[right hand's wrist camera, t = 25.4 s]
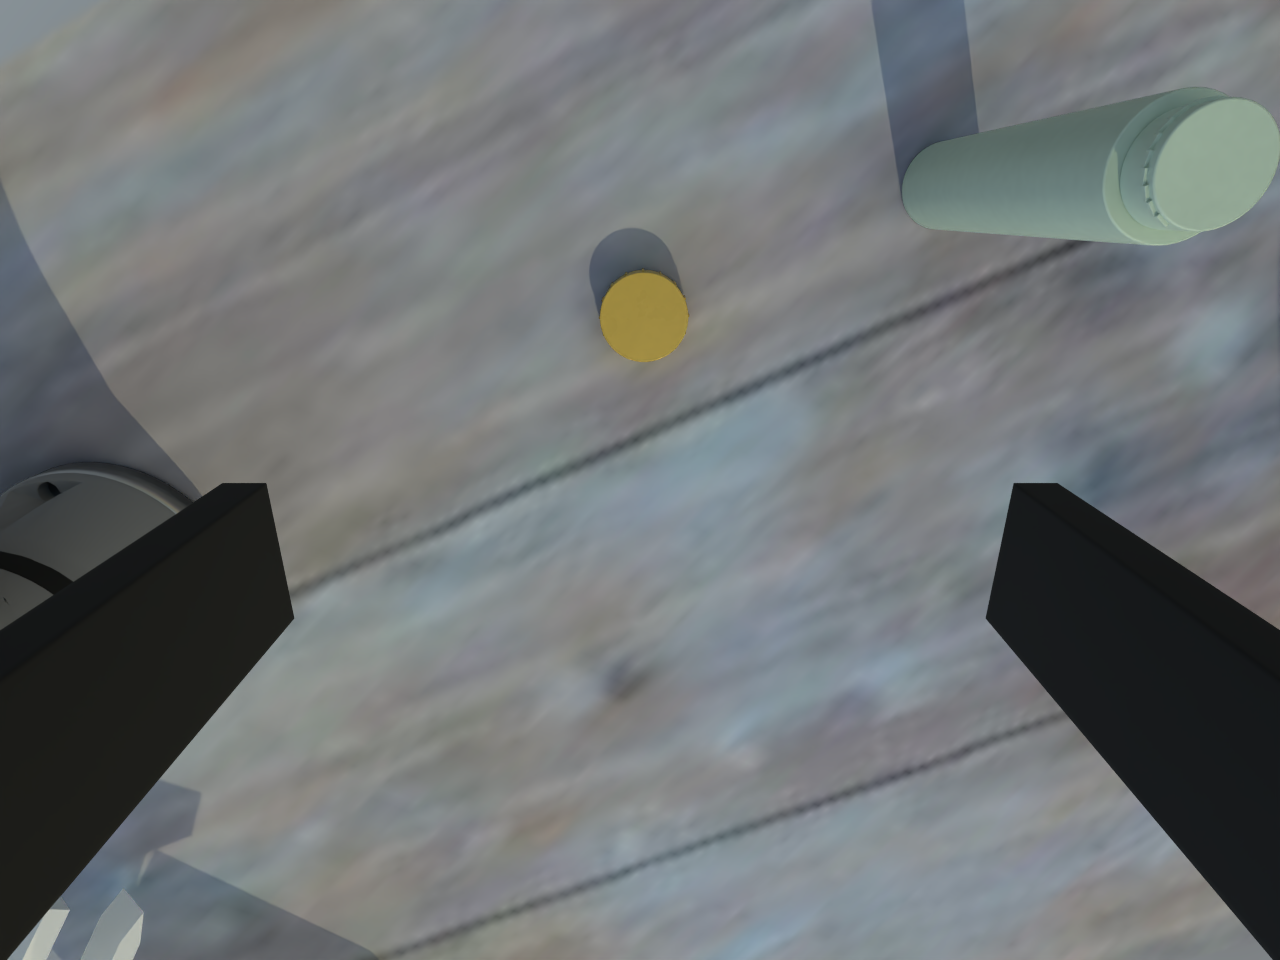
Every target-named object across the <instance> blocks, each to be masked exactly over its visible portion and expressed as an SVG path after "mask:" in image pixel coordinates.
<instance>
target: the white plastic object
mask: <svg viewBox="0 0 1280 960" xmlns="http://www.w3.org/2000/svg"><path fill="white" fill-rule="evenodd" d="M69 911H70V909H69V908H68V906H67V904H66V903H65V901H64V900H63V898H62V897H61V896H60V897H59V899H58V900H57V901H56V902H55V903H54V905H53V906H52V907H51V908H50V909H49V910H48V912H47V913H46V914H45V915H44V916H43V918H42V919H41V920H40V921H39V922H38V924H37V925H36V926H35V927H34V928H33V930H32V931H31V932H30V933H29V934H28V935H27V937H26V938H25V939H24V940H23V941H22V943H21V944H20V945H19V946H18V947H17V949H16V950H15V951H14V952H13V953H12V954H11V956H10V957H9V958H8V959H7V960H46V959H47V957H48V955H49V953H50V951H51V948H52V946H53V944H54V942H55V940H56V938H57V936H58V934H59V932H60V930H61V928H62V926H63V923H64V921H65V919H66V917H67V915H68V913H69ZM143 914H144V912H143V911H142V909H141V908H140V907H139V906H138V905H137V903H136V902H135V901H134V900H133V899H132V898H131V896H130V895H129V894H128V893H127V892H126V890H125V889H124V888H123V889H122V890H121V892H120V893H119V894H118V895H117V896H116V898H115V899H114V900H113V901H112V903H111V904H110V905H109V906H108V908H107V909H106V910H105V911H104V913H103V914H102V915H101V916H100V919H99V921H98V923H97V925H96V927H95V929H94V932H93V934H92V936H91V938H90V940H89V942H88V944H87V947H86V949H85V951H84V953H83V955H82V957H81V960H133V958H134V956H135V954H136V951H137V949H138V947H139V944H140V940H141V932H142V923H143Z"/></svg>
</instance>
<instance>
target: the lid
mask: <svg viewBox="0 0 1280 960" xmlns="http://www.w3.org/2000/svg"><path fill="white" fill-rule="evenodd" d="M610 286H611V287H610V288H609V289H608V291H607V293H606V295H605V297H603V298H602V302H603V303H602V306H601V310H600V316H599V319H600V324H601V329H602V332H603V336H604V337H605V339H606V340H607V342H608V344H609V345H610V346H611V347H612V348H613V350H615V351H616V352H617V353H618V354H620V355H621V356H623V357H625V358H627V359H630V360H633V361H639V362H649V361H655V360H658V359H661V358H663V357H665V356H667V355H668V354H670V353H671V352H672V351H673V350H674V349H676V348H677V346H678V345H679V344H680V342H681V341H682V339H683V337H684V335H685V334H686V329H687V325H688V317H689V314H688V309H687V305H686V302H685V300H686V298H685V296H684V295H682V293H681V291H680V289H679V288H678V287H677V285H676V282H675V281H672V280H671V279H669V278H668V277H667V276H665V275H663V274H662V273H661V272H660V271H659V272H656V271H652V270H644V268H642V270H636V271H632V272H629V273H627V272H625V275H623V276H621V277H620V278H618V279H617V280H616V281H615V282H614V283H613V282H612V283H611V285H610Z"/></svg>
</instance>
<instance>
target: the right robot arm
mask: <svg viewBox="0 0 1280 960" xmlns="http://www.w3.org/2000/svg"><path fill="white" fill-rule="evenodd" d="M293 619H294V615H293V610H292V605H291V600H290V595H289V590H288V586H287V581H286V576H285V571H284V566H283V562H282V557H281V552H280V547H279V542H278V537H277V533H276V528H275V523H274V518H273V513H272V509H271V504H270V499H269V494H268V489H267V484H266V483H222V484H221V485H219V486H218V487H216V488H215V489H213V490H212V491H210V492H209V493H207V494H206V495H204V496H202V497H201V498H199V499H198V500H196V501H195V502H192V501H190V500H189V499H188V498H187V497H185V496H184V495H183V494H181V493H180V492H179V491H177V490H175V489H174V488H172V487H171V486H169V485H167V484H166V483H164V482H162V481H160V480H158V479H156V478H154V477H152V476H150V475H147V474H145V473H142V472H140V471H137V470H134V469H130V468H127V467H123V466H119V465H113V464H107V463H97V462H82V463H72V464H66V465H61V466H58V467H55V468H51V469H49V470H47V471H44V472H42V473H40V474H38V475H35V476H33V477H31V478H29V479H26V480H24V481H22V482H20V483H18V484H16V485H14V486H13V487H11V488H10V489H8V490H7V491H6V492H4V493H3V494H2V495H1V496H0V960H7V959H8V958H9V957H10V956H11V954H12V953H13V952H14V951H15V950H16V949H17V947H18V946H19V945H20V944H21V943H22V941H23V940H24V939H25V938H26V937H27V935H28V934H29V933H30V932H31V931H32V930H33V928H34V927H35V926H36V925H37V924H38V922H39V921H40V920H41V919H42V918H43V916H44V915H45V914H46V913H47V912H48V910H49V909H50V908H51V907H52V906H53V905H54V903H55V902H56V901H57V900H58V899H59V897H60V896H61V895H62V894H63V893H64V891H65V890H66V889H67V888H68V887H69V886H70V884H71V883H72V882H73V881H74V880H75V878H76V877H77V876H78V875H79V874H80V872H81V871H82V870H83V869H84V868H85V867H86V865H87V864H88V863H89V862H90V861H91V859H92V858H93V857H94V856H95V855H96V853H97V852H98V851H99V850H100V849H101V847H102V846H103V845H104V844H105V843H106V842H107V840H108V839H109V838H110V837H111V836H112V834H113V833H114V832H115V831H116V830H117V828H118V827H119V826H120V825H121V824H122V823H123V821H124V820H125V819H126V818H127V817H128V815H129V814H130V813H131V812H132V811H133V809H134V808H135V807H136V806H137V805H138V804H139V802H140V801H141V800H142V799H143V798H144V796H145V795H146V794H147V793H148V792H149V790H150V789H151V788H152V787H153V786H154V784H155V783H156V782H157V781H158V780H159V779H160V777H161V776H162V775H163V774H164V773H165V771H166V770H167V769H168V768H169V767H170V765H171V764H172V763H173V762H174V761H175V760H176V758H177V757H178V756H179V755H180V754H181V752H182V751H183V750H184V749H185V748H186V746H187V745H188V744H189V743H190V742H191V741H192V739H193V738H194V737H195V736H196V735H197V733H198V732H199V731H200V730H201V729H202V727H203V726H204V725H205V724H206V723H207V721H208V720H209V719H210V718H211V717H212V716H213V714H214V713H215V712H216V711H217V710H218V708H219V707H220V706H221V705H222V704H223V702H224V701H225V700H226V699H227V698H228V697H229V695H230V694H231V693H232V692H233V691H234V689H235V688H236V687H237V686H238V685H239V683H240V682H241V681H242V680H243V679H244V678H245V676H246V675H247V674H248V673H249V672H250V670H251V669H252V668H253V667H254V666H255V664H256V663H257V662H258V661H259V660H260V658H261V657H262V656H263V655H264V654H265V653H266V651H267V650H268V649H269V648H270V647H271V645H272V644H273V643H274V642H275V641H276V639H277V638H278V637H279V636H280V635H281V634H282V632H283V631H284V630H285V629H286V628H287V626H288V625H289V624H290V623H291V622H292V620H293ZM986 619H987V620H988V622H989V623H990V624H991V625H992V626H993V628H994V629H995V630H996V631H997V632H998V634H999V635H1000V636H1001V637H1002V638H1003V639H1004V641H1005V642H1006V643H1007V644H1008V645H1009V647H1010V648H1011V649H1012V650H1013V651H1014V653H1015V654H1016V655H1017V656H1018V657H1019V658H1020V660H1021V661H1022V662H1023V663H1024V664H1025V666H1026V667H1027V668H1028V669H1029V670H1030V672H1031V673H1032V674H1033V675H1034V676H1035V678H1036V679H1037V680H1038V681H1039V682H1040V683H1041V685H1042V686H1043V687H1044V688H1045V689H1046V691H1047V692H1048V693H1049V694H1050V695H1051V697H1052V698H1053V699H1054V700H1055V701H1056V702H1057V704H1058V705H1059V706H1060V707H1061V708H1062V710H1063V711H1064V712H1065V713H1066V714H1067V716H1068V717H1069V718H1070V719H1071V720H1072V721H1073V723H1074V724H1075V725H1076V726H1077V727H1078V729H1079V730H1080V731H1081V732H1082V733H1083V735H1084V736H1085V737H1086V738H1087V739H1088V741H1089V742H1090V743H1091V744H1092V745H1093V746H1094V748H1095V749H1096V750H1097V751H1098V752H1099V754H1100V755H1101V756H1102V757H1103V758H1104V760H1105V761H1106V762H1107V763H1108V764H1109V765H1110V767H1111V768H1112V769H1113V770H1114V771H1115V773H1116V774H1117V775H1118V776H1119V777H1120V779H1121V780H1122V781H1123V782H1124V783H1125V784H1126V786H1127V787H1128V788H1129V789H1130V790H1131V792H1132V793H1133V794H1134V795H1135V796H1136V798H1137V799H1138V800H1139V801H1140V802H1141V804H1142V805H1143V806H1144V807H1145V808H1146V809H1147V811H1148V812H1149V813H1150V814H1151V815H1152V817H1153V818H1154V819H1155V820H1156V821H1157V823H1158V824H1159V825H1160V826H1161V827H1162V828H1163V830H1164V831H1165V832H1166V833H1167V834H1168V836H1169V837H1170V838H1171V839H1172V840H1173V842H1174V843H1175V844H1176V845H1177V846H1178V847H1179V849H1180V850H1181V851H1182V852H1183V853H1184V855H1185V856H1186V857H1187V858H1188V859H1189V861H1190V862H1191V863H1192V864H1193V865H1194V867H1195V868H1196V869H1197V870H1198V871H1199V872H1200V874H1201V875H1202V876H1203V877H1204V878H1205V880H1206V881H1207V882H1208V883H1209V884H1210V886H1211V887H1212V888H1213V889H1214V890H1215V891H1216V893H1217V894H1218V895H1219V896H1220V897H1221V899H1222V900H1223V901H1224V902H1225V903H1226V905H1227V906H1228V907H1229V908H1230V909H1231V910H1232V912H1233V913H1234V914H1235V915H1236V916H1237V918H1238V919H1239V920H1240V921H1241V922H1242V924H1243V925H1244V926H1245V927H1246V928H1247V930H1248V931H1249V932H1250V933H1251V934H1252V935H1253V937H1254V938H1255V939H1256V940H1257V941H1258V943H1259V944H1260V945H1261V946H1262V947H1263V948H1264V950H1265V951H1266V952H1267V953H1268V954H1269V956H1270V957H1271V958H1272V959H1273V960H1280V630H1279V629H1277V628H1276V627H1274V626H1273V625H1271V624H1270V623H1268V622H1267V621H1265V620H1264V619H1262V618H1261V617H1259V616H1258V615H1256V614H1255V613H1253V612H1252V611H1250V610H1249V609H1247V608H1245V607H1244V606H1242V605H1241V604H1239V603H1238V602H1236V601H1235V600H1233V599H1232V598H1230V597H1229V596H1227V595H1226V594H1224V593H1223V592H1221V591H1220V590H1218V589H1217V588H1215V587H1214V586H1212V585H1211V584H1209V583H1208V582H1206V581H1205V580H1203V579H1202V578H1200V577H1199V576H1197V575H1196V574H1194V573H1193V572H1191V571H1190V570H1188V569H1186V568H1185V567H1183V566H1182V565H1180V564H1179V563H1177V562H1176V561H1174V560H1173V559H1171V558H1170V557H1168V556H1167V555H1165V554H1164V553H1162V552H1161V551H1159V550H1158V549H1156V548H1155V547H1153V546H1152V545H1150V544H1149V543H1147V542H1146V541H1144V540H1143V539H1141V538H1140V537H1138V536H1137V535H1135V534H1134V533H1132V532H1130V531H1129V530H1127V529H1126V528H1124V527H1123V526H1121V525H1120V524H1118V523H1117V522H1115V521H1114V520H1112V519H1111V518H1109V517H1108V516H1106V515H1105V514H1103V513H1102V512H1100V511H1099V510H1097V509H1096V508H1094V507H1093V506H1091V505H1090V504H1088V503H1087V502H1085V501H1084V500H1082V499H1081V498H1079V497H1078V496H1076V495H1074V494H1073V493H1071V492H1070V491H1068V490H1067V489H1065V488H1064V487H1062V486H1061V485H1059V484H1058V483H1014V484H1013V489H1012V494H1011V499H1010V504H1009V509H1008V513H1007V518H1006V523H1005V528H1004V533H1003V537H1002V542H1001V547H1000V552H999V557H998V562H997V566H996V571H995V576H994V581H993V586H992V590H991V595H990V600H989V605H988V610H987V615H986Z"/></svg>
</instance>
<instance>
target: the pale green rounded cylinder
mask: <svg viewBox="0 0 1280 960" xmlns="http://www.w3.org/2000/svg"><path fill="white" fill-rule="evenodd" d="M1279 158H1280V134H1279V130H1278V127H1277V124H1276V122H1275V120H1274V118H1273V117H1272V115H1271V114H1270V113H1269V111H1267V110H1266V109H1265V108H1264V107H1263V106H1261V105H1260V104H1258V103H1257V102H1254V101H1252V100H1249V99H1245V98H1240V97H1229V96H1227V95H1226V94H1224V93H1222V92H1220V91H1217V90H1215V89H1210V88H1205V87H1190V88H1183V89H1178V90H1174V91H1169V92H1165V93H1160V94H1156V95H1151V96H1146V97H1142V98H1137V99H1133V100H1128V101H1124V102H1119V103H1115V104H1110V105H1105V106H1101V107H1096V108H1092V109H1087V110H1083V111H1078V112H1073V113H1069V114H1064V115H1060V116H1055V117H1051V118H1046V119H1041V120H1037V121H1032V122H1028V123H1023V124H1019V125H1014V126H1009V127H1005V128H1000V129H996V130H991V131H987V132H982V133H978V134H973V135H968V136H964V137H959V138H955V139H950V140H946V141H941V142H937V143H935V144H932V145H930V146H928V147H927V148H925V149H924V150H922V151H921V152H920V153H919V154H918V155H917V156H916V157H915V158H914V159H913V161H912V162H911V164H910V165H909V167H908V169H907V171H906V173H905V176H904V179H903V184H902V199H903V204H904V207H905V209H906V211H907V213H908V214H909V216H910V217H911V218H912V219H913V220H914V221H915V222H916V223H917V224H919V225H921V226H923V227H926V228H929V229H937V230H951V231H964V232H977V233H991V234H1004V235H1018V236H1031V237H1045V238H1058V239H1072V240H1085V241H1099V242H1112V243H1125V244H1139V245H1154V246H1161V245H1169V244H1174V243H1178V242H1181V241H1184V240H1187V239H1189V238H1191V237H1193V236H1195V235H1197V234H1199V233H1200V232H1202V231H1209V230H1214V229H1217V228H1220V227H1223V226H1225V225H1227V224H1229V223H1231V222H1233V221H1234V220H1236V219H1238V218H1239V217H1241V216H1242V215H1243V214H1245V213H1246V212H1247V211H1248V210H1249V209H1251V208H1252V207H1253V206H1254V205H1255V204H1256V203H1257V201H1258V200H1259V199H1260V198H1261V197H1262V195H1263V194H1264V193H1265V191H1266V190H1267V188H1268V186H1269V185H1270V183H1271V181H1272V179H1273V177H1274V175H1275V172H1276V169H1277V166H1278V162H1279Z"/></svg>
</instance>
